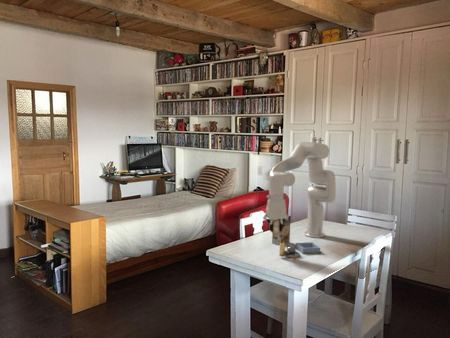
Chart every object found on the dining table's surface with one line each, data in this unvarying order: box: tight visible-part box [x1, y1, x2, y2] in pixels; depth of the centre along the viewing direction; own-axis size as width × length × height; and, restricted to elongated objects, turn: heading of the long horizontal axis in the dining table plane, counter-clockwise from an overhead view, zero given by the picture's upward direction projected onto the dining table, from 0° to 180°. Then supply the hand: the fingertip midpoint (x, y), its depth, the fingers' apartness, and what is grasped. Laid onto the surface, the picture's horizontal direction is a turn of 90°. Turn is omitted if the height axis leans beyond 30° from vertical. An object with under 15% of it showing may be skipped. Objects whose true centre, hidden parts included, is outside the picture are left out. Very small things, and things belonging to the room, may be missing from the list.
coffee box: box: [271, 215, 292, 246], centre depth 227 cm, size 9×6×16 cm
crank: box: [279, 242, 297, 257], centre depth 203 cm, size 11×4×7 cm, turn 131°
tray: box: [295, 241, 321, 255], centre depth 214 cm, size 10×10×3 cm
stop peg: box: [271, 219, 280, 234], centre depth 205 cm, size 4×4×7 cm
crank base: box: [284, 251, 301, 261], centre depth 205 cm, size 12×9×1 cm
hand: (275, 230), depth 206 cm, fingers closed on stop peg, 4 cm apart
